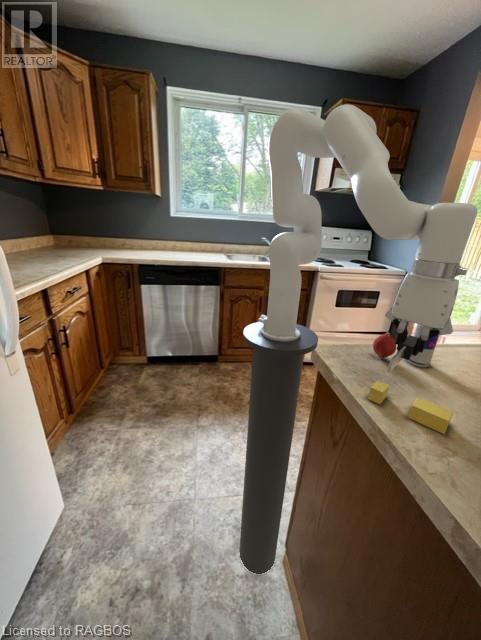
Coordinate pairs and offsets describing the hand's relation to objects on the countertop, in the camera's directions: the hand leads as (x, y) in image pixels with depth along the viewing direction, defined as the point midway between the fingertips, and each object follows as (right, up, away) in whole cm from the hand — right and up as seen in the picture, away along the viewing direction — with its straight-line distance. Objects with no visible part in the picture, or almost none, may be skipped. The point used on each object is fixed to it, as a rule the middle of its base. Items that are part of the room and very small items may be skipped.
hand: (407, 350), depth 61 cm
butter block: (-1, -13, -8) cm, 15 cm away
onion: (+3, -4, +16) cm, 17 cm away
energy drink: (+12, -5, +15) cm, 19 cm away
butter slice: (-8, -10, -2) cm, 13 cm away
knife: (-3, -2, -3) cm, 5 cm away
